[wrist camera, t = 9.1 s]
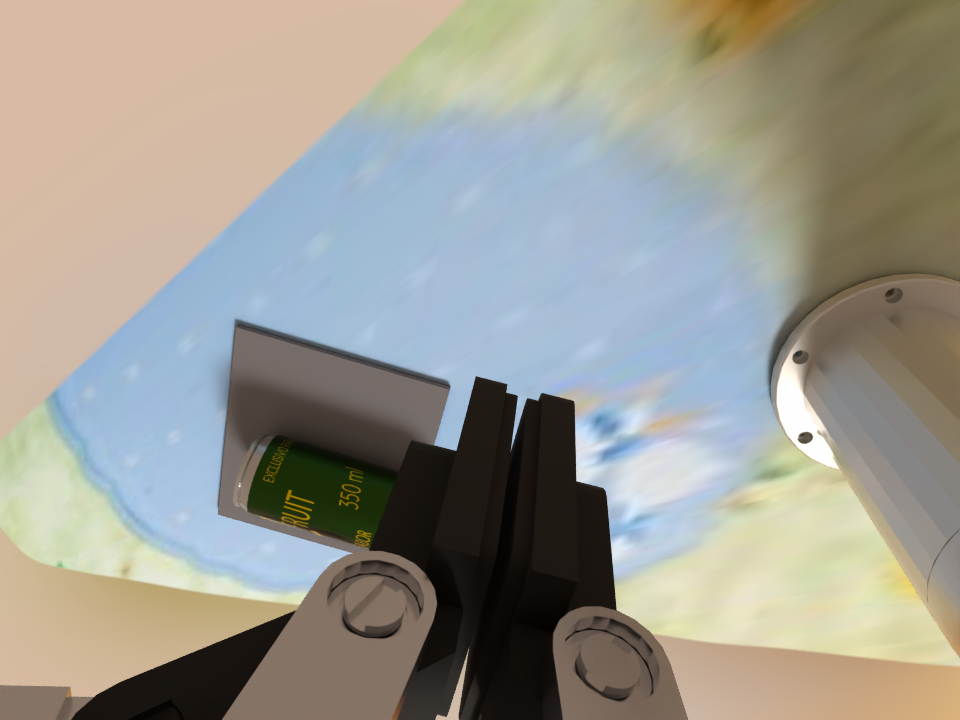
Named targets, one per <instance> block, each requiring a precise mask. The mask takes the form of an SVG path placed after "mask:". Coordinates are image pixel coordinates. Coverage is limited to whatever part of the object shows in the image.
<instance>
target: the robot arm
mask: <svg viewBox="0 0 960 720" xmlns="http://www.w3.org/2000/svg"><path fill="white" fill-rule="evenodd" d="M890 289H891V290H890ZM888 290H890V291H889V292H888V293H886V292H887V291H888ZM797 351H799V352H798V353H796V354H794V353H795V352H797ZM770 388H771V400H772V406H773V409H774V412H775V415H776V418H777V420H778V422H779V424H780V426H781V427H782V429H783V431H784V433H785V435H786V436H787V437H788V439H789V440H790V441H791V442H792V444H793V445H794V446H795V447H796V448H797V449H799V450H800V451H801V452H802V453H804V454H805V455H806V456H808V457H809V458H810V459H812V460H814V461H816V462H818V463H820V464H822V465H824V466H827V467H830V468H834V469H837V470H840V471H841V472H842V474H843V475H844V477H845V479H846V480H847V482H848V483H849V485H850V487H851V488H852V490H853V491H854V493H855V495H856V496H857V498H858V499H859V501H860V503H861V504H862V506H863V507H864V509H865V511H866V512H867V514H868V515H869V517H870V519H871V520H872V522H873V523H874V525H875V526H876V528H877V530H878V531H879V533H880V534H881V536H882V538H883V539H884V541H885V542H886V544H887V546H888V547H889V549H890V550H891V552H892V554H893V555H894V557H895V558H896V560H897V562H898V563H899V565H900V566H901V568H902V570H903V571H904V573H905V574H906V576H907V578H908V579H909V581H910V582H911V584H912V586H913V587H914V589H915V590H916V592H917V594H918V595H919V597H920V598H921V600H922V602H923V603H924V605H925V606H926V608H927V610H928V611H929V613H930V614H931V616H932V618H933V619H934V621H935V622H936V623H937V625H938V626H939V628H940V630H941V631H942V633H943V634H944V636H945V637H946V639H947V641H948V642H949V644H950V645H951V647H952V648H953V649H954V651H955V652H956V653H957V655H958V656H959V657H960V282H959V281H956V280H953V279H949V278H946V277H943V276H938V275H928V274H918V273H914V274H900V275H890V276H886V277H881V278H877V279H873V280H868V281H866V282H863V283H861V284H858V285H856V286H853V287H851V288H848V289H845V290H844V291H842V292H840V293H838V294H837V295H835V296H833V297H832V298H830V299H828V300H826V301H825V302H823V303H822V304H821V305H819V306H818V307H817V308H816V309H815V310H813V311H812V312H811V313H810V314H808V315H807V316H806V317H805V318H804V319H803V320H802V321H801V322H800V324H799V325H798V326H797V327H796V328H795V329H794V330H793V331H792V332H791V334H790V335H789V337H788V339H787V340H786V342H785V343H784V345H783V347H782V348H781V350H780V352H779V355H778V357H777V360H776V363H775V365H774V368H773V373H772V380H771V386H770ZM506 390H507V384H504V383H500V382H496V381H492V380H488V379H484V378H481V377H477V376H476V378H475V382H474V386H473V390H472V393H471V397H470V401H469V405H468V409H467V413H466V417H465V420H464V424H463V428H462V432H461V436H460V440H459V444H458V447H457V451H454V450H450V449H446V448H442V447H438V446H434V445H430V444H426V443H422V442H418V441H414V440H411V442H410V444H409V446H408V449H407V451H406V454H405V457H404V459H403V462H402V465H401V467H400V470H399V473H398V475H397V478H396V481H395V483H394V486H393V488H392V491H391V494H390V496H389V499H388V502H387V504H386V507H385V510H384V512H383V515H382V518H381V520H380V523H379V525H378V528H377V531H376V533H375V536H374V539H373V541H372V544H371V547H370V549H369V551H362V552H358V553H354V554H349V555H346V556H344V557H342V558H341V559H339V560H337V561H335V562H333V563H332V564H331V565H330V566H329V567H328V568H327V569H326V570H325V571H324V572H323V573H322V574H321V575H320V576H319V578H318V579H317V581H316V582H315V584H314V585H313V587H312V588H311V590H310V591H309V593H308V594H307V595H306V597H305V598H304V600H303V601H302V603H301V604H300V606H299V607H298V609H297V610H296V611H293V612H291V613H288V614H286V615H283V616H281V617H278V618H276V619H274V620H271V621H269V622H266V623H264V624H261V625H259V626H256V627H254V628H252V629H249V630H247V631H244V632H242V633H239V634H237V635H235V636H232V637H229V638H227V639H225V640H222V641H220V642H217V643H215V644H212V645H210V646H207V647H205V648H203V649H200V650H198V651H195V652H193V653H190V654H188V655H186V656H183V657H181V658H178V659H176V660H173V661H171V662H168V663H166V664H163V665H161V666H158V667H156V668H154V669H151V670H149V671H146V672H144V673H141V674H139V675H137V676H134V677H132V678H129V679H127V680H124V681H122V682H120V683H118V684H116V685H114V686H112V687H110V688H108V689H107V690H105V691H103V692H101V693H99V694H97V695H96V696H95V697H71V689H70V687H51V686H3V685H0V720H435V719H436V716H437V715H441V716H445V717H447V715H448V712H449V709H450V705H451V703H452V699H453V696H454V693H455V690H456V686H457V684H458V680H459V677H460V674H461V670H462V668H463V664H464V661H465V658H466V655H467V652H468V649H469V652H468V659H467V665H466V671H465V678H464V684H463V691H462V697H461V704H460V710H459V720H688V718H687V715H686V711H685V708H684V705H683V702H682V699H681V696H680V692H679V689H678V686H677V683H676V680H675V677H674V674H673V671H672V667H671V664H670V662H669V660H668V658H667V656H666V654H665V652H664V649H663V647H662V646H661V645H660V644H659V642H658V641H657V640H656V639H655V637H654V636H653V635H652V634H651V632H649V631H648V630H647V629H646V628H645V627H643V626H642V625H641V624H640V623H638V622H637V621H636V620H635V619H633V618H631V617H629V616H627V615H625V614H623V613H621V612H619V611H617V610H616V598H615V587H614V575H613V564H612V553H611V541H610V530H609V518H608V507H607V496H606V491H605V490H604V489H603V488H601V487H597V486H593V485H589V484H585V483H581V482H577V481H576V447H575V404H574V401H572V400H568V399H564V398H560V397H556V396H552V395H548V394H544V393H542V394H541V395H540V398H539V400H538V401H537V400H533V399H529V398H527V400H526V403H525V406H524V409H523V413H522V416H521V419H520V423H519V426H518V429H517V433H516V436H515V440H514V443H513V446H512V450H511V444H512V436H513V429H514V421H515V414H516V406H517V398H518V396H517V395H513V394H509V393H506ZM510 452H511V453H510Z"/></svg>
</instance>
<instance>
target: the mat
mask: <svg viewBox="0 0 960 720" xmlns="http://www.w3.org/2000/svg"><path fill="white" fill-rule="evenodd" d="M449 390H450V386H446V385H443V384H439V383H436V382H433V381H429V380H426V379H422V378H419V377H415V376H412V375H409V374H405V373H402V372H398V371H395V370H392V369H388V368H385V367H381V366H378V365H374V364H371V363H368V362H364V361H361V360H357V359H354V358H351V357H347V356H344V355H340V354H337V353H334V352H330V351H327V350H323V349H320V348H316V347H313V346H310V345H306V344H303V343H299V342H296V341H293V340H289V339H286V338H282V337H279V336H275V335H272V334H269V333H265V332H262V331H258V330H255V329H252V328H248V327H245V326H241V325H238V326H237V327H236V330H235V341H234V351H233V362H232V372H231V382H230V393H229V403H228V414H227V424H226V435H225V445H224V456H223V466H222V477H221V487H220V497H219V508H218V515H222V516H225V517H229V518H232V519H236V520H239V521H243V522H246V523H250V524H253V525H256V526H260V527H263V528H267V529H270V530H274V531H277V532H281V533H284V534H288V535H291V536H295V537H298V538H302V539H305V540H309V541H312V542H316V543H319V544H323V545H326V546H330V547H333V548H337V549H340V550H344V551H347V552H351V553H358V552H362V551H368V550H365V549H362V548H359V547H355V546H352V545H349V544H345V543H342V542H339V541H336V540H332V539H329V538H326V537H323V536H319V535H316V534H313V533H309V532H306V531H303V530H300V529H296V528H293V527H290V526H287V525H283V524H280V523H277V522H274V521H270V520H267V519H264V518H260V517H257V516H254V515H251V514H249V513H248V512H247V511H246V510H245V509H244V508H243V507H237V506H235V505H234V503H233V494H234V487H235V483H236V480H237V476H238V473H239V471H240V468H241V465H242V463H243V460H244V458H245V456H246V454H247V452H248V450H249V448H250V447H251V445H252V443H253V442H254V441H255V439H256V438H257V437H258V436H259V435H260V434H261V433H264V434H268V435H269V436H271V435H283V436H286V437H289V438H292V439H296V440H299V441H302V442H305V443H309V444H312V445H315V446H318V447H321V448H325V449H328V450H331V451H334V452H338V453H341V454H344V455H347V456H350V457H354V458H357V459H360V460H363V461H367V462H370V463H373V464H376V465H379V466H383V467H386V468H389V469H392V470H396V471H399V470H400V467H401V465H402V462H403V459H404V457H405V454H406V451H407V449H408V446H409V444H410V442H411V440H414V441H418V442H422V443H426V444H430V445H434V443H435V439H436V436H437V432H438V429H439V425H440V422H441V418H442V415H443V411H444V408H445V404H446V401H447V397H448V394H449Z"/></svg>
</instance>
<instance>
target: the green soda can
mask: <svg viewBox="0 0 960 720" xmlns="http://www.w3.org/2000/svg"><path fill="white" fill-rule="evenodd" d="M398 473H399V471H396V470H392V469H389V468H386V467H383V466H379V465H376V464H373V463H370V462H367V461H363V460H360V459H357V458H354V457H350V456H347V455H344V454H341V453H338V452H334V451H331V450H328V449H325V448H321V447H318V446H315V445H312V444H309V443H305V442H302V441H299V440H296V439H292V438H289V437H286V436H283V435H271V436H269V435H268V434H264V433H261V434H260V435H259V436H258V437H257V438H256V439H255V441H254V442H253V443H252V445H251V447H250V448H249V450H248V452H247V454H246V456H245V458H244V460H243V463H242V465H241V468H240V471H239V473H238V476H237V480H236V483H235V487H234V494H233V503H234V505H235V506H237V507H243V508H244V509H245V510H246V511H247V512H248V513H249V514H251V515H254V516H257V517H260V518H264V519H267V520H270V521H274V522H277V523H280V524H283V525H287V526H290V527H293V528H296V529H300V530H303V531H306V532H309V533H313V534H316V535H319V536H323V537H326V538H329V539H332V540H336V541H339V542H342V543H345V544H349V545H352V546H355V547H359V548H362V549H365V550H368V551H369V549H370V547H371V544H372V541H373V539H374V536H375V533H376V531H377V528H378V525H379V523H380V520H381V518H382V515H383V512H384V510H385V507H386V504H387V502H388V499H389V496H390V494H391V491H392V488H393V486H394V483H395V481H396V478H397V475H398Z"/></svg>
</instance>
